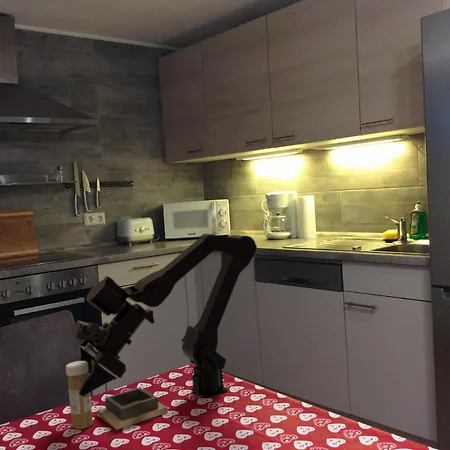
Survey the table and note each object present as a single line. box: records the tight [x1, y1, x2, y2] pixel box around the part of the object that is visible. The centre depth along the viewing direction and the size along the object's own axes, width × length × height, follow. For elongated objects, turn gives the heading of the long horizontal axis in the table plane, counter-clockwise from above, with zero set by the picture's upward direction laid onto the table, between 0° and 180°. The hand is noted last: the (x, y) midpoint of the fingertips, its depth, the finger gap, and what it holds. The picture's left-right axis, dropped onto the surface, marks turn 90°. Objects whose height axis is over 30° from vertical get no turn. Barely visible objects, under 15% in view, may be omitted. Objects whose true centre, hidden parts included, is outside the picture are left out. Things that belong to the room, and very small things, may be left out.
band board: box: [97, 386, 168, 431], centre depth 121 cm, size 12×10×4 cm
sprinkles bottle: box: [65, 360, 94, 430], centre depth 116 cm, size 5×5×13 cm
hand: (75, 388), depth 116 cm, fingers open, 9 cm apart
